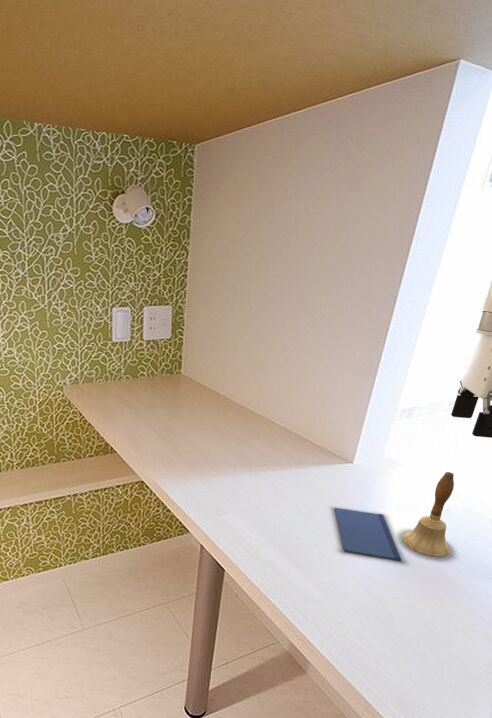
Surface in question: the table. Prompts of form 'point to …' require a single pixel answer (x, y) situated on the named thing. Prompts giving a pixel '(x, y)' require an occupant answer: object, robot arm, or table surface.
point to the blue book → (366, 534)
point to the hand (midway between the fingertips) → (471, 426)
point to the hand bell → (432, 524)
